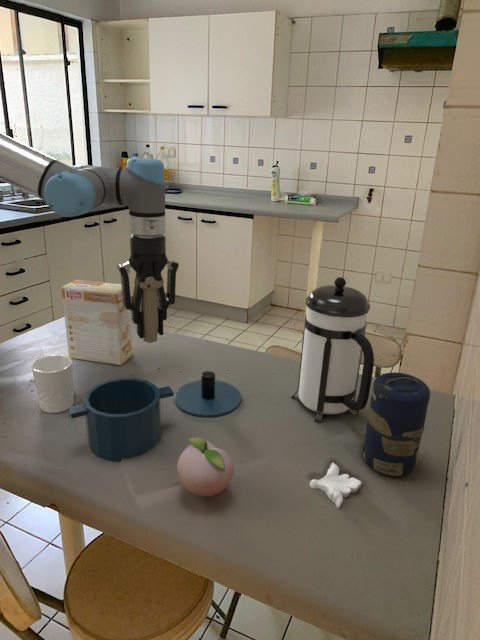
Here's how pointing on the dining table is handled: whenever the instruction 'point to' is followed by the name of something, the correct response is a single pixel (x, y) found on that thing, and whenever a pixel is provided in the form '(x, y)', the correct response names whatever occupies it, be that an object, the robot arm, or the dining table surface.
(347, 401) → the coffee press
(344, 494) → the acanthus leaf ornament
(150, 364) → the dining table surface
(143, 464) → the dining table surface
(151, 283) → the handle
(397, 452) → the canister
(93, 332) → the coffeecake box
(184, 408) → the lid
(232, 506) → the dining table surface
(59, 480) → the dining table surface
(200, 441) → the decorative fruit
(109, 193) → the robot arm
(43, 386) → the white cup
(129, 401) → the pot
